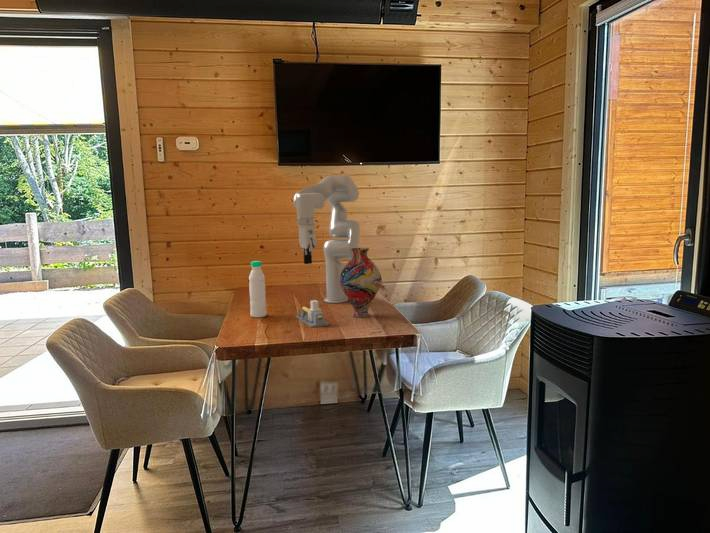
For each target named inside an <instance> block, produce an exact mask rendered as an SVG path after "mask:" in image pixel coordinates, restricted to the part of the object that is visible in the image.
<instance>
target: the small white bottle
mask: <svg viewBox="0 0 710 533" xmlns="http://www.w3.org/2000/svg"><path fill="white" fill-rule="evenodd" d="M309 303H310V305H309V306H310V308H308V320H310V321H313V313H314V312H322V308H319V301H318V300H316V299H314V300H310V301H309Z"/></svg>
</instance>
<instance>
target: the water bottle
mask: <svg viewBox="0 0 710 533" xmlns="http://www.w3.org/2000/svg"><path fill="white" fill-rule="evenodd" d="M262 264H263V263H262V261H261V260H253V261H251V262H250V267H251V271H250V273H249V276H248V280H249V282H248V283H249V286H248V289H249V292H248V293H249V307H250V312H249V313H250V317H252V318H264V317H266V316H267V301H266V282H265V279H266V276H265V274H264V273H263V270H262V266H263V265H262Z"/></svg>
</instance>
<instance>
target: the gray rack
mask: <svg viewBox="0 0 710 533" xmlns="http://www.w3.org/2000/svg"><path fill="white" fill-rule="evenodd" d="M308 309H309V308H308V307H307V306H302V308H301V309H299V308H298V309H297V311H298V313H297V314H298V315H295V318H296V319H298V320H299V321H301V322H302V323H303V324H305V325H307V326H308V327H310V328H316V327H317V328H318V327H325V326H326V327H327V326H330V322H328V321H326V320H324V313H323V312H322V311H321V312H314V313H313V321H310V320H308Z"/></svg>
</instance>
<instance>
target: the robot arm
mask: <svg viewBox="0 0 710 533" xmlns="http://www.w3.org/2000/svg"><path fill="white" fill-rule="evenodd" d="M359 191H360V190H359V188H358V187H357V185H356V183H355V182H354V180H353V179H352V178H351V177H350V176H349V175H347V174H335V175H334V174H332V175H327V176H325V177H324V178H323V179H322V180H320V181H319V182H318V183H315V184H313V185H310V186H306V187H304V188H301V189H300V190H298V192H296V193H295V194H294V196H293V200H292V202H293V206H294V208H295V209H296V216H297V217H296V218H297V219H296V220H297V221H296V222H297V227H298V245H299V247H301V250H302V254H303V264H304V265H309V264H310V265H311V264H313V260H312V258H313V257H312V252H313V251H314V249H316V248H317V247H318V246H317V235H316V228H315V224H316V223H315V211H316V210H317V211H318V210H321V209H323V208H324V207H325V205H326V200H327V202H328V205H329V208H330V221H329V227H328V233H329V236H330V237H331V238H333V239H329V240H326V241H325V242H324V244H323V254H324V255H323V256H324V260H325V280H326V281H325V283H326V284H325V286H326V297H325V298H323V302H325V303H327V304H340V303H346V302H348V301H349V300H348V298H347V296H346V295H345V293H344V292H343V290H342V289H341V287H340V285H339V279H340V275H341V272H342V270H343V268H344V267H345V265H344V263H343V261H342V260H341V259H343V260H344V259H347V260H348V259H349V260H351V259H352V258H353V252H352V250H351V249H352V248H359V244H360V243H359V242H360V234H361V233H360V232H361V228H360V224H359V222H358V221H357V220H355V219H348V211H347V208H346V207H345V206H344V205H343V204H342V203H350V202H351V203H353V202H356V201H357V200H358V199H359V194H360V193H359ZM313 248H314V249H313Z"/></svg>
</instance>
